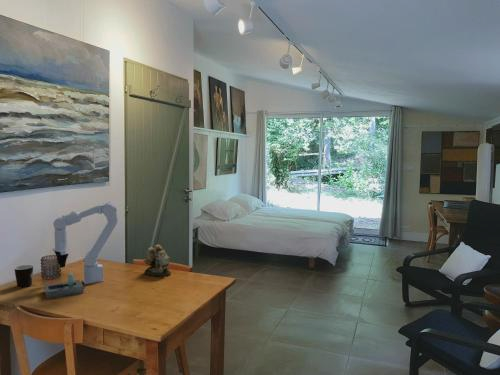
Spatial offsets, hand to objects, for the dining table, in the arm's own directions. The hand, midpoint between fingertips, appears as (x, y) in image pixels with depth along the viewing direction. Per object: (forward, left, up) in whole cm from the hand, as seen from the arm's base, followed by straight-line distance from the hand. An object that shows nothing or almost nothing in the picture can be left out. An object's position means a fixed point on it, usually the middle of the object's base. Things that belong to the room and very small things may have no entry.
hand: (61, 265), depth 207 cm
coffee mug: (+16, -7, -10) cm, 20 cm away
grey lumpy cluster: (-49, +9, -10) cm, 51 cm away
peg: (-2, +15, -10) cm, 18 cm away
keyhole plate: (+1, +15, -10) cm, 18 cm away
